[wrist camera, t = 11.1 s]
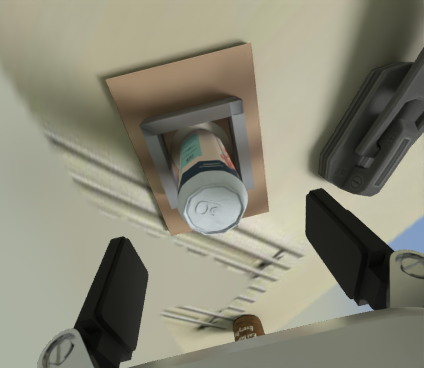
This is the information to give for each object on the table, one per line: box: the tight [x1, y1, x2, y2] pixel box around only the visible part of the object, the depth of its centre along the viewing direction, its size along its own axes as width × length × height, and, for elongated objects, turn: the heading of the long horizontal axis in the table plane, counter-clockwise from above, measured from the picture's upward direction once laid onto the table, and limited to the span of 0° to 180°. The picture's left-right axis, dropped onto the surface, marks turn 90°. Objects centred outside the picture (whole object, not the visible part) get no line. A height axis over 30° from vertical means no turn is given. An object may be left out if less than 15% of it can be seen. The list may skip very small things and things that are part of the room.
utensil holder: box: [233, 315, 265, 342], centre depth 39 cm, size 6×6×12 cm
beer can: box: [177, 129, 248, 235], centre depth 19 cm, size 5×5×12 cm
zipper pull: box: [319, 48, 424, 196], centre depth 21 cm, size 9×7×25 cm
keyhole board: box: [105, 43, 269, 236], centre depth 24 cm, size 20×14×4 cm
